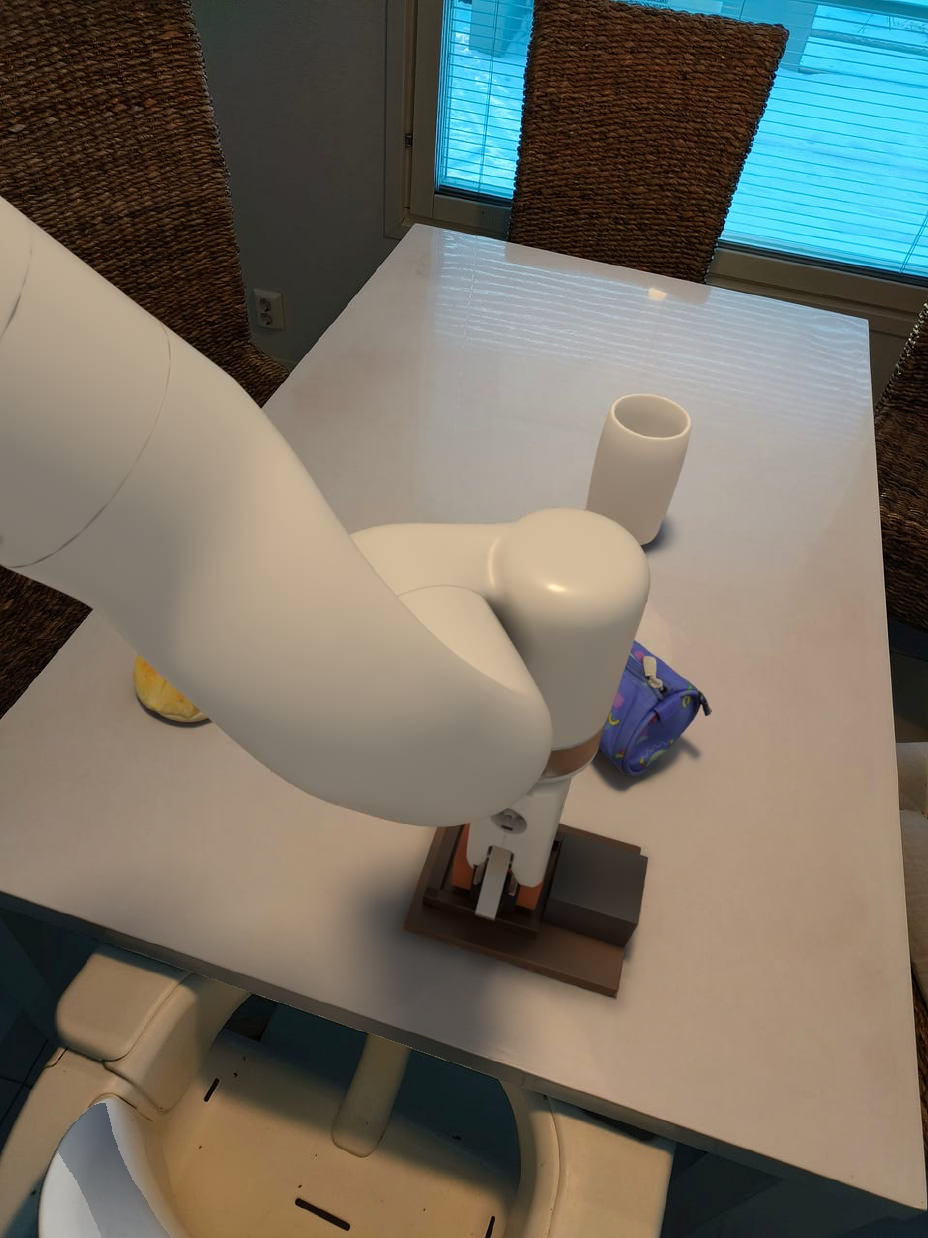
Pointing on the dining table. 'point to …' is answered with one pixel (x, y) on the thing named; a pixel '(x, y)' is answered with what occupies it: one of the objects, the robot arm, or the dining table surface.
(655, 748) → the pencil case
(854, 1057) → the dining table surface
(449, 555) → the robot arm
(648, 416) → the cup
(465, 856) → the orange block
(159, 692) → the bread roll
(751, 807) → the dining table surface
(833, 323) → the dining table surface
